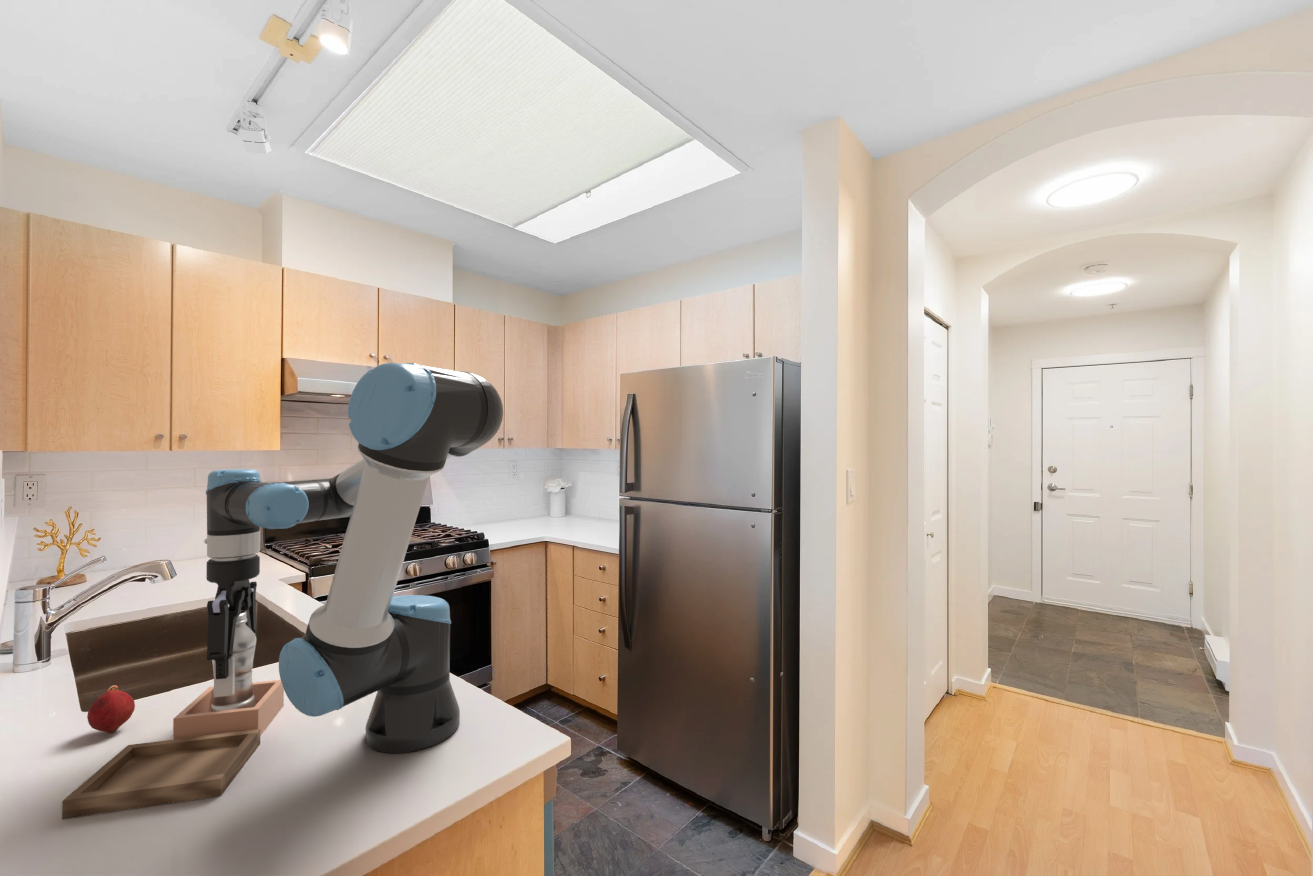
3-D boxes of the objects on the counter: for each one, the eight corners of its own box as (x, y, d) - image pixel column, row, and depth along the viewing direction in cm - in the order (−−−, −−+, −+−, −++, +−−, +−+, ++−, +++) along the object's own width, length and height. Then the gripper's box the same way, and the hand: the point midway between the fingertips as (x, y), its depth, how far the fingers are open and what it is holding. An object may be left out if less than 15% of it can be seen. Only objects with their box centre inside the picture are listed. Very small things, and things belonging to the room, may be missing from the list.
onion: (104, 743, 93) (104, 695, 93) (77, 739, 94) (78, 692, 94) (143, 725, 98) (143, 680, 98) (117, 722, 100) (117, 677, 100)
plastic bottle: (218, 719, 101) (218, 609, 101) (262, 714, 103) (262, 606, 103) (201, 738, 94) (201, 620, 94) (248, 732, 96) (248, 617, 96)
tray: (260, 744, 93) (260, 729, 93) (220, 796, 79) (220, 778, 79) (128, 760, 88) (128, 745, 88) (62, 819, 74) (62, 800, 74)
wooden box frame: (283, 705, 106) (283, 679, 106) (258, 738, 95) (258, 709, 95) (209, 714, 103) (209, 687, 103) (173, 749, 91) (173, 718, 91)
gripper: (232, 547, 107) (232, 668, 107) (179, 570, 88) (178, 715, 88) (277, 545, 109) (277, 663, 109) (234, 567, 91) (234, 709, 91)
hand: (233, 686), depth 99 cm, fingers closed on plastic bottle, 6 cm apart
